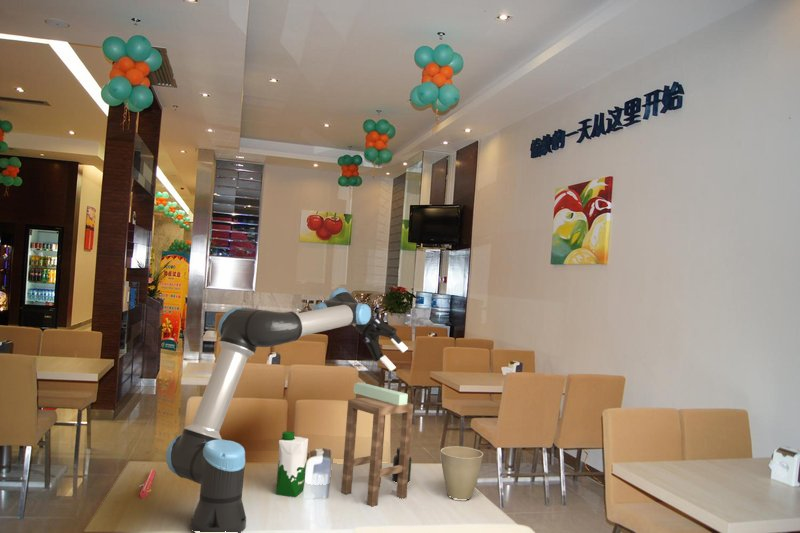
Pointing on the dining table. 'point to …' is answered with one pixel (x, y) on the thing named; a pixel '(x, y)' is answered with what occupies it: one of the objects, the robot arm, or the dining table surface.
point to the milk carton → (291, 464)
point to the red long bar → (147, 485)
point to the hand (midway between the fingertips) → (399, 360)
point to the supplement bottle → (396, 462)
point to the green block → (381, 393)
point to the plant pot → (461, 470)
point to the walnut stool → (377, 446)
